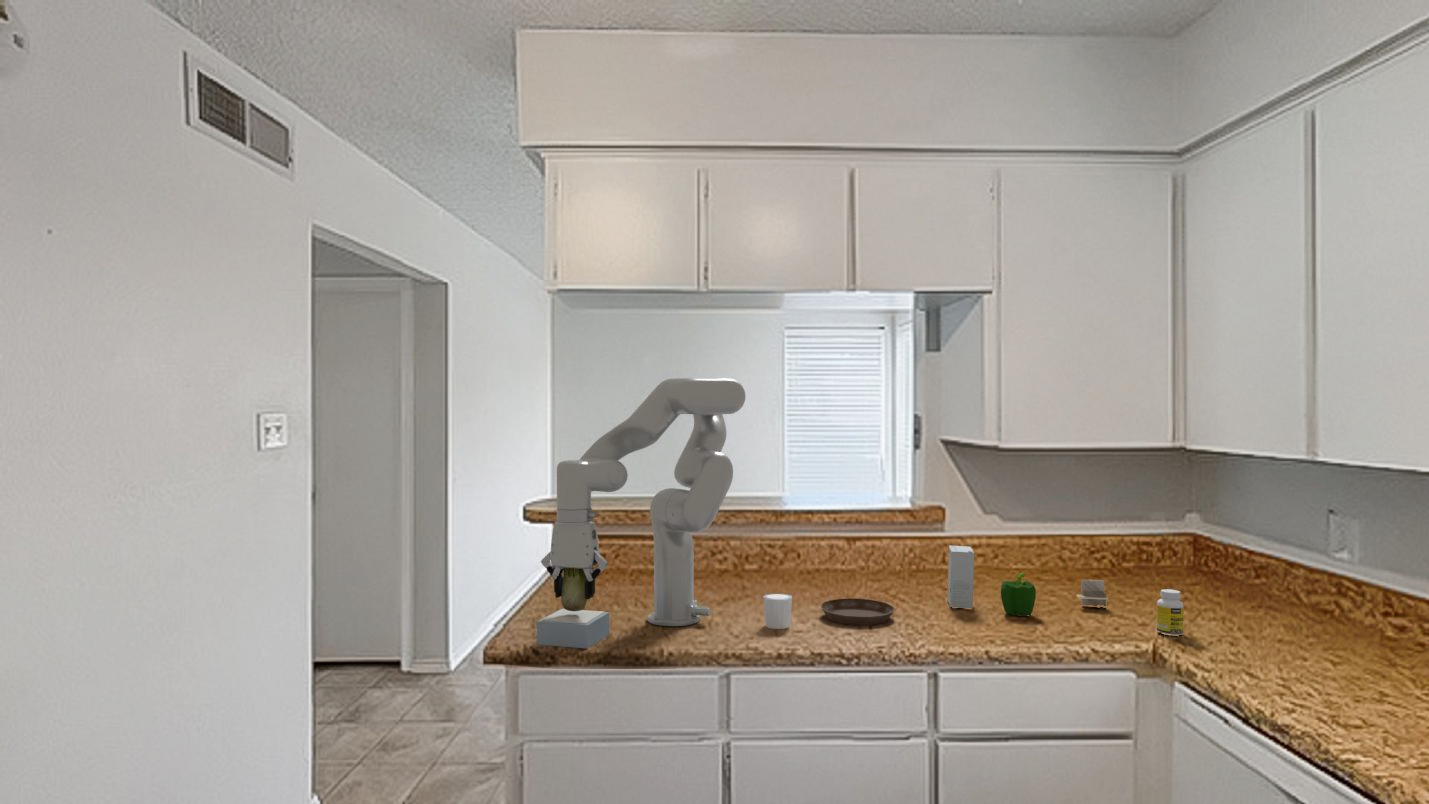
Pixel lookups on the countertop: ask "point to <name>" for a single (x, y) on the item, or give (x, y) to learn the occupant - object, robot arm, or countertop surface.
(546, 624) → the base block
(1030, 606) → the bell pepper
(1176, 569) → the countertop surface
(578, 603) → the fennel bulb
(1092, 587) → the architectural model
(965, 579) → the skincare box
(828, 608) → the plant saucer
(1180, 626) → the supplement bottle
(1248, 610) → the countertop surface
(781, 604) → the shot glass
